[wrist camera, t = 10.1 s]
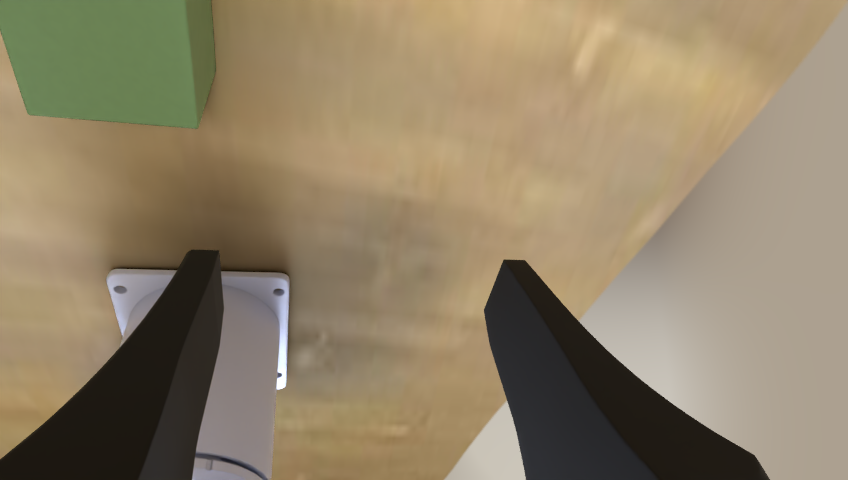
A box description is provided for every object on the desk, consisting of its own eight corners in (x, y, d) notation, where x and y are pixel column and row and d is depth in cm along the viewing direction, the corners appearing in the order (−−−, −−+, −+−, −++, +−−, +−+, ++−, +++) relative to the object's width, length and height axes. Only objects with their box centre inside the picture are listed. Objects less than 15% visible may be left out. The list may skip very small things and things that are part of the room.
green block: (216, 71, 19) (198, 129, 16) (73, 56, 18) (27, 115, 15) (206, -70, 16) (182, -30, 13) (35, -99, 15) (-32, -62, 12)
